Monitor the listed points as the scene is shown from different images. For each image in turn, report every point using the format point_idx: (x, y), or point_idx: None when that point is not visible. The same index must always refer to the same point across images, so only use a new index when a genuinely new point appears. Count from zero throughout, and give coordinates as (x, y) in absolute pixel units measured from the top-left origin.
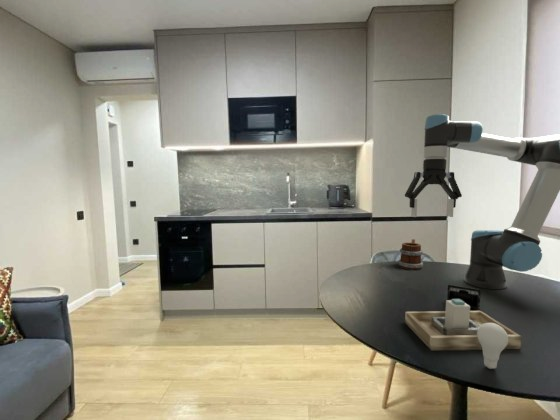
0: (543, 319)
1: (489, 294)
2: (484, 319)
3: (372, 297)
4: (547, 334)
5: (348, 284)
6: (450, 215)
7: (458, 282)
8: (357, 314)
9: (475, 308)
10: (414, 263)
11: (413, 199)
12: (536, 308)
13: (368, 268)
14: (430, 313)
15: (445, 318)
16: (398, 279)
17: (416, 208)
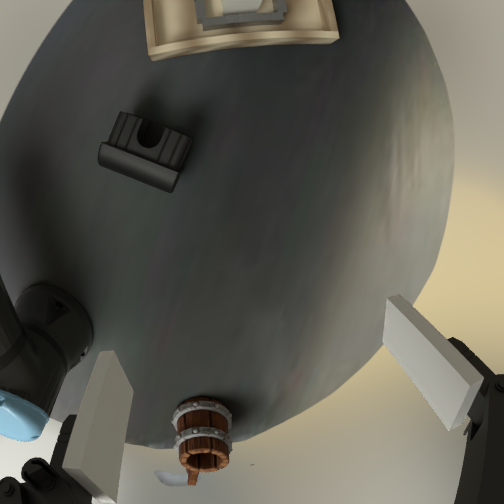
0: (18, 112)
1: (59, 247)
2: (155, 33)
3: (366, 181)
4: (54, 38)
5: (395, 264)
6: (114, 362)
7: (108, 325)
8: (411, 87)
9: (134, 115)
10: (198, 410)
11: (484, 383)
12: (3, 174)
13: (311, 386)
14: (282, 31)
15: (259, 5)
16: (261, 325)
17: (425, 333)
